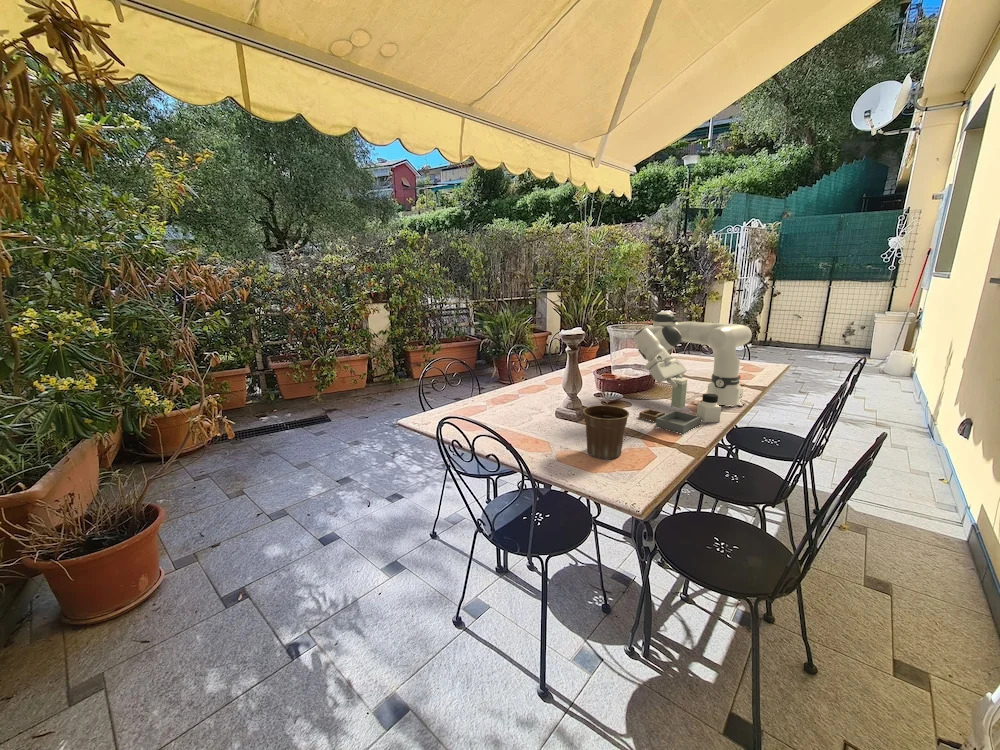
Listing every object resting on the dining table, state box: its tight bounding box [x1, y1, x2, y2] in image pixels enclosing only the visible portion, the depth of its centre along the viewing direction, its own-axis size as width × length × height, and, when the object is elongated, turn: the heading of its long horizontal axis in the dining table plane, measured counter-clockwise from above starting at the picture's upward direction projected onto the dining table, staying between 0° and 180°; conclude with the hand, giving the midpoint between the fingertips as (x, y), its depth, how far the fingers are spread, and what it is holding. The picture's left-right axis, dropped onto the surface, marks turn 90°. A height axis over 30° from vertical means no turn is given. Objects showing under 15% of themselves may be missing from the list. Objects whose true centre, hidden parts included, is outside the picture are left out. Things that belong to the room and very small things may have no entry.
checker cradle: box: [638, 408, 666, 423], centre depth 188 cm, size 8×8×3 cm
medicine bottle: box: [696, 392, 722, 423], centre depth 183 cm, size 7×7×12 cm
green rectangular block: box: [670, 377, 688, 410], centre depth 175 cm, size 4×4×12 cm
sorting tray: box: [655, 409, 702, 435], centre depth 177 cm, size 16×12×4 cm
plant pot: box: [582, 404, 630, 460], centre depth 151 cm, size 16×16×16 cm
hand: (680, 386), depth 174 cm, fingers closed on green rectangular block, 4 cm apart
